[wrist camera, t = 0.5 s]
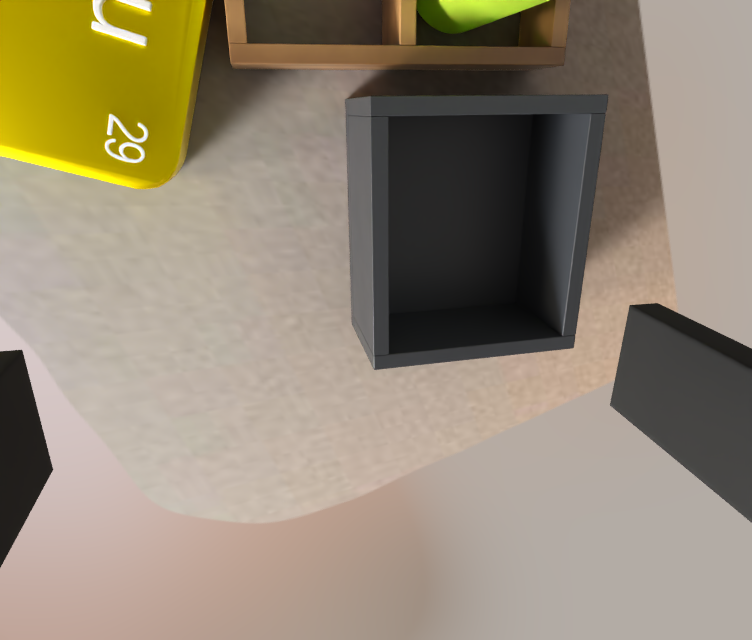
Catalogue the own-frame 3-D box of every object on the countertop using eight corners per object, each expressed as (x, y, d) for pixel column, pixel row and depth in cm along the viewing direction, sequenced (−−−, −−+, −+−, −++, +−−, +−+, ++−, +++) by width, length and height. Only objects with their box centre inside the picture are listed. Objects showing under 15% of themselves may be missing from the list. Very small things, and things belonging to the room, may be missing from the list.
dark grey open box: (345, 98, 35) (370, 96, 28) (540, 97, 38) (609, 94, 31) (351, 324, 41) (373, 370, 34) (520, 309, 44) (574, 348, 37)
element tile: (-87, -194, 26) (-154, -255, 22) (226, -70, 31) (222, -100, 26) (-93, 120, 31) (-150, 121, 26) (181, 189, 35) (171, 200, 31)
